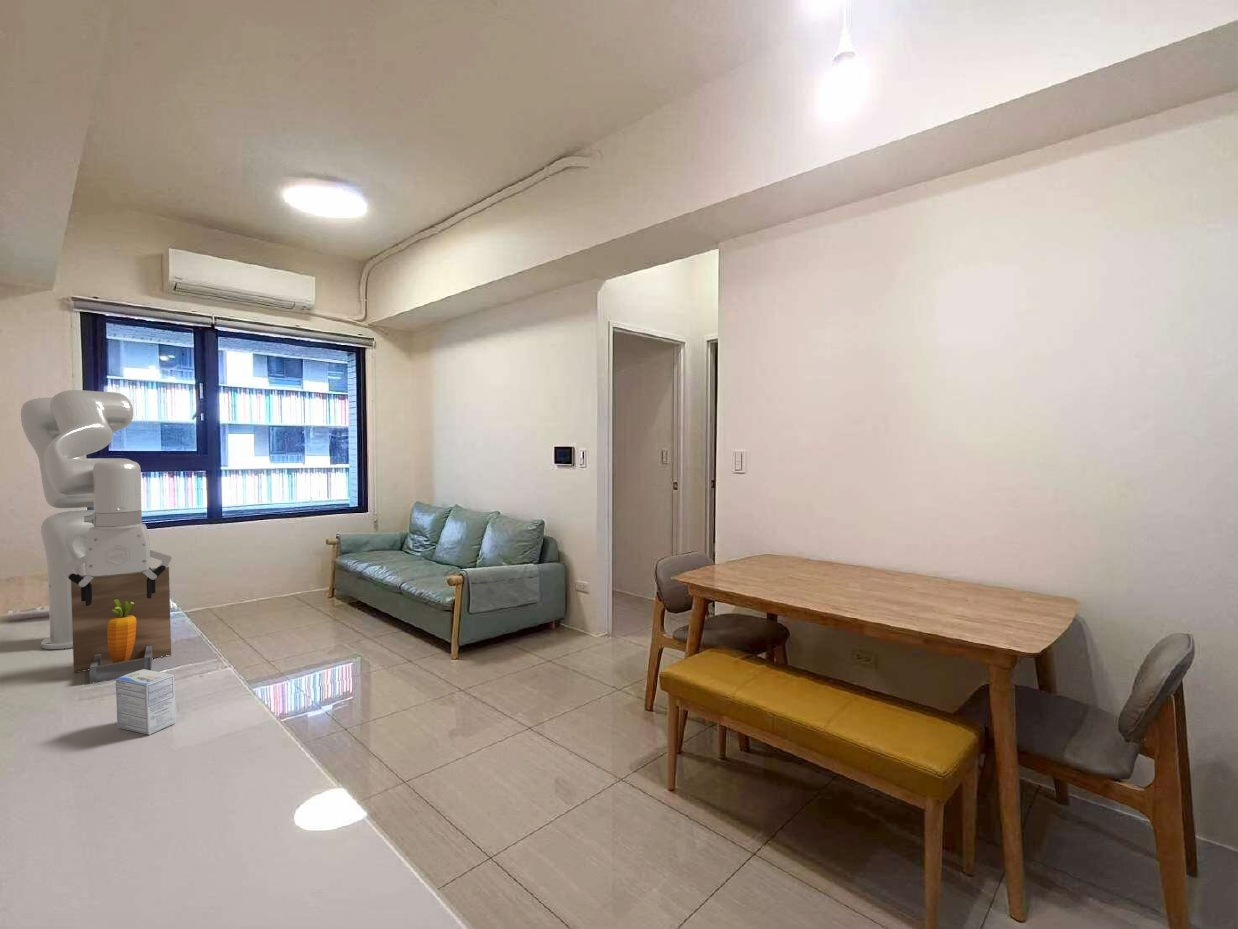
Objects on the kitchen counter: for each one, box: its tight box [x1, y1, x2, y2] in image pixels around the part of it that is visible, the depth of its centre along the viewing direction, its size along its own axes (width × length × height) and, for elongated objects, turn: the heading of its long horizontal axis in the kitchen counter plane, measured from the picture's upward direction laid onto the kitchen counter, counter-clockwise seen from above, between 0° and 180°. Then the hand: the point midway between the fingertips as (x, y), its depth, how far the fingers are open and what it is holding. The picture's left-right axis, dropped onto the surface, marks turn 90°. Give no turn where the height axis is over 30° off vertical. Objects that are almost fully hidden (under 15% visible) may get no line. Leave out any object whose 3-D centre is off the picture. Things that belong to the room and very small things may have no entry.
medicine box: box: [115, 669, 177, 735], centre depth 96 cm, size 8×4×9 cm, turn 71°
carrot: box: [107, 599, 136, 663], centre depth 120 cm, size 5×5×15 cm
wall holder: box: [71, 566, 172, 684], centre depth 121 cm, size 11×16×20 cm
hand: (119, 600), depth 120 cm, fingers open, 9 cm apart
